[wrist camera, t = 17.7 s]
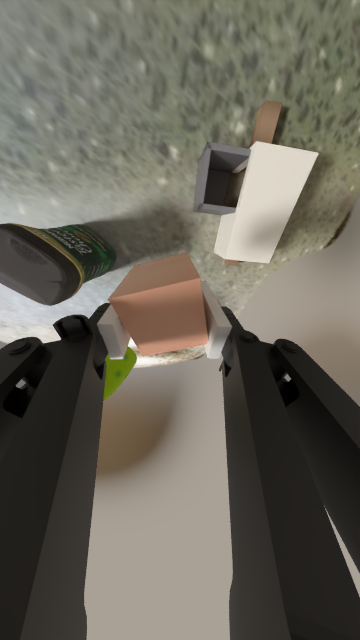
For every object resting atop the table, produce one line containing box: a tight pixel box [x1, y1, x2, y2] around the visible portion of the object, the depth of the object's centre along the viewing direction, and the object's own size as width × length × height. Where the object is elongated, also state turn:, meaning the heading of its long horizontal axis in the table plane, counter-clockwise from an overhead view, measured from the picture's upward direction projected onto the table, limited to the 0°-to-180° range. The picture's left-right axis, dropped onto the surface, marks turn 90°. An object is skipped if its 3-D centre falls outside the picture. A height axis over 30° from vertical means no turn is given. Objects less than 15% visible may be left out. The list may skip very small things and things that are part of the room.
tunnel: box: [193, 141, 319, 263], centre depth 24 cm, size 14×15×8 cm
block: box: [108, 252, 208, 356], centre depth 10 cm, size 4×4×6 cm
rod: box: [225, 101, 282, 266], centre depth 26 cm, size 22×2×2 cm, turn 178°
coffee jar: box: [0, 223, 115, 306], centre depth 22 cm, size 10×8×19 cm
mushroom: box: [103, 347, 137, 401], centre depth 30 cm, size 8×8×25 cm
